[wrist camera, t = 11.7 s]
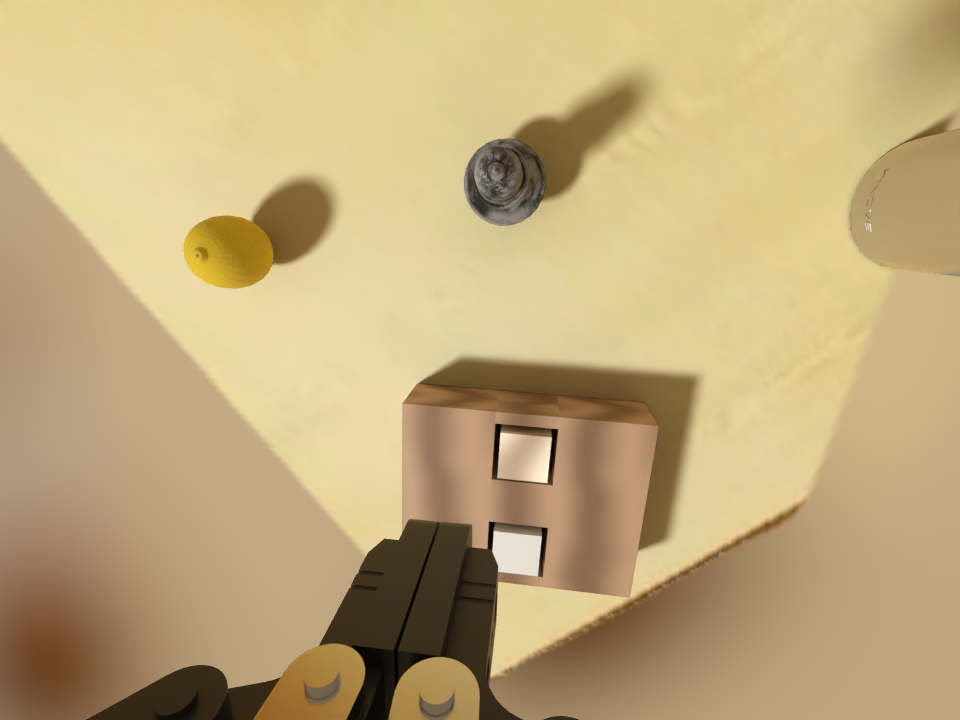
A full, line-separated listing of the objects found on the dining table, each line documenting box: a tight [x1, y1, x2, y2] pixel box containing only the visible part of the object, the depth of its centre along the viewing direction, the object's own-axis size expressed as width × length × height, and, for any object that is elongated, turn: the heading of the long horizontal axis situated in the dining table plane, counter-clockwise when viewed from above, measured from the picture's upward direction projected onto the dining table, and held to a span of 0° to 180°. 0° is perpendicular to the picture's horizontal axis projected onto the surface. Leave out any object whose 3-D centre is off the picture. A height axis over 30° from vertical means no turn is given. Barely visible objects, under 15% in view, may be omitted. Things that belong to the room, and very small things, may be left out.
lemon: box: [184, 216, 274, 288], centre depth 37 cm, size 6×6×8 cm
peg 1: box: [497, 424, 552, 483], centre depth 39 cm, size 4×4×5 cm
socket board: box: [402, 384, 659, 598], centre depth 41 cm, size 20×16×5 cm
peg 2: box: [492, 522, 542, 576], centre depth 42 cm, size 4×4×5 cm
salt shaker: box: [464, 139, 546, 226], centre depth 31 cm, size 6×6×12 cm
